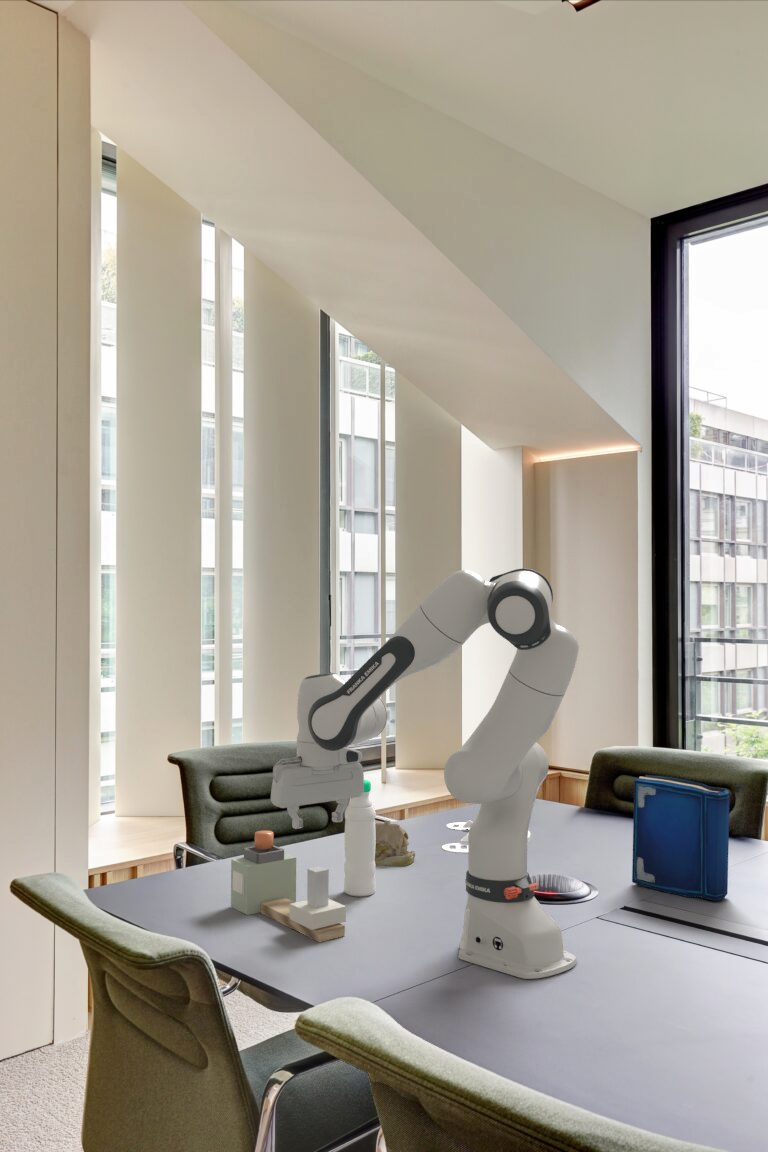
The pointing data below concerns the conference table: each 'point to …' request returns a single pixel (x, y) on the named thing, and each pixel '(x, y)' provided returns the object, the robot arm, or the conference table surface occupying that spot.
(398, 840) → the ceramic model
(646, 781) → the book
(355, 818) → the water bottle
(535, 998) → the conference table surface
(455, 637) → the robot arm
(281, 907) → the block
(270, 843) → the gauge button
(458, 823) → the cable organizer
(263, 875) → the end cabinet
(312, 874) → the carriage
